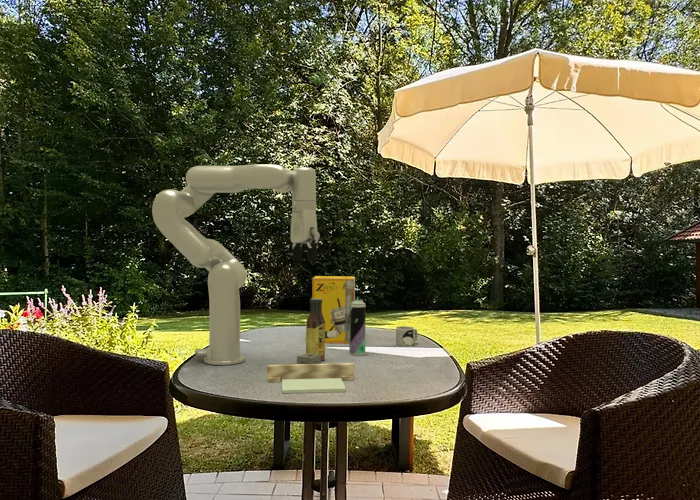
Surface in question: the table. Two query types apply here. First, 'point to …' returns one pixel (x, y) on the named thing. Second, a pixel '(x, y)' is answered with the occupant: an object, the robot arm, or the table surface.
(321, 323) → the sauce bottle
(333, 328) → the packaging box
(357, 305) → the spray can
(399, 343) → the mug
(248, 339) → the table surface
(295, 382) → the pad
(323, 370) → the wooden barrier
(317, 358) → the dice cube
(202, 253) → the robot arm
